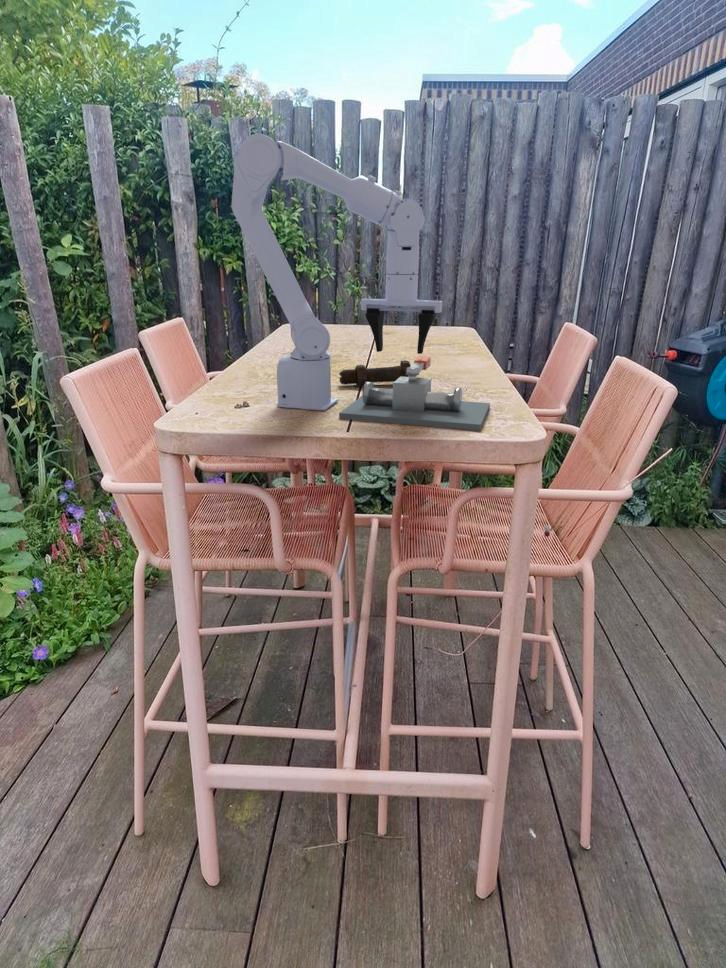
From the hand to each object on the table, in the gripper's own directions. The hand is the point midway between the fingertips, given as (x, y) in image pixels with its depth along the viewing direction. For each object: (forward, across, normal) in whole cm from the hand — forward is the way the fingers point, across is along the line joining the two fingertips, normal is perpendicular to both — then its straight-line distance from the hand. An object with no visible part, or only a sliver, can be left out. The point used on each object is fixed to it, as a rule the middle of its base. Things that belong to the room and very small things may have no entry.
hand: (399, 352), depth 110 cm
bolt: (+10, -8, +14) cm, 18 cm away
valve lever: (+3, +4, -3) cm, 6 cm away
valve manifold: (+9, +4, -8) cm, 13 cm away
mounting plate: (+9, +5, -8) cm, 13 cm away
